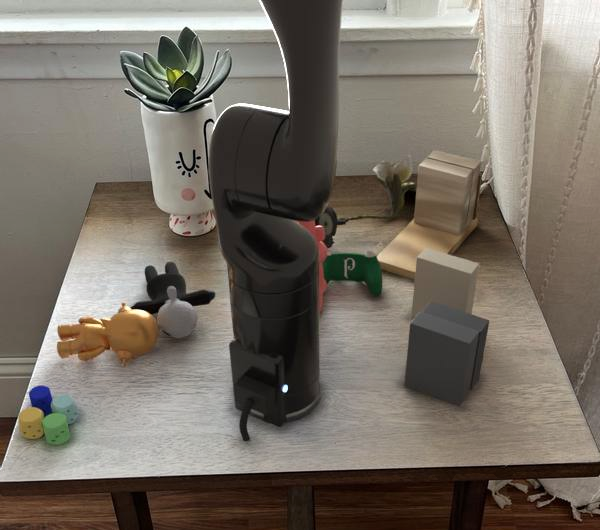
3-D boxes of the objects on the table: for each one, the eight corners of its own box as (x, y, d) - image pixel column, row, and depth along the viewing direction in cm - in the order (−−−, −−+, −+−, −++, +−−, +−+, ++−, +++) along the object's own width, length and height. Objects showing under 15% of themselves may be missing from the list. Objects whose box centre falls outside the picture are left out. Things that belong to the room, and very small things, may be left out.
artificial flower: (294, 242, 120) (288, 172, 116) (410, 211, 131) (408, 146, 127) (331, 253, 113) (326, 179, 109) (449, 219, 124) (449, 151, 120)
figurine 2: (121, 292, 110) (138, 355, 99) (113, 253, 106) (130, 315, 95) (202, 277, 112) (228, 337, 101) (197, 239, 109) (223, 297, 98)
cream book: (462, 334, 101) (471, 273, 95) (411, 317, 104) (416, 257, 98) (470, 324, 103) (479, 263, 97) (419, 307, 106) (425, 247, 100)
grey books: (460, 406, 92) (470, 343, 86) (404, 385, 95) (409, 323, 89) (479, 378, 95) (490, 316, 89) (424, 358, 98) (431, 297, 92)
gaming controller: (381, 299, 110) (383, 255, 110) (381, 294, 106) (384, 248, 107) (312, 296, 111) (315, 253, 111) (310, 291, 107) (313, 246, 107)
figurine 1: (65, 381, 100) (164, 373, 99) (49, 363, 94) (153, 354, 94) (67, 318, 102) (163, 309, 102) (51, 296, 97) (152, 288, 96)
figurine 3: (304, 324, 104) (303, 219, 93) (279, 305, 107) (275, 202, 96) (335, 308, 106) (337, 204, 96) (309, 290, 109) (308, 188, 99)
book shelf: (426, 283, 110) (433, 216, 103) (373, 266, 113) (376, 200, 106) (476, 225, 120) (486, 160, 113) (426, 211, 123) (433, 147, 116)
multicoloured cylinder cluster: (57, 393, 95) (5, 418, 92) (52, 376, 93) (-1, 401, 90) (92, 431, 90) (38, 459, 87) (88, 414, 88) (33, 442, 85)
